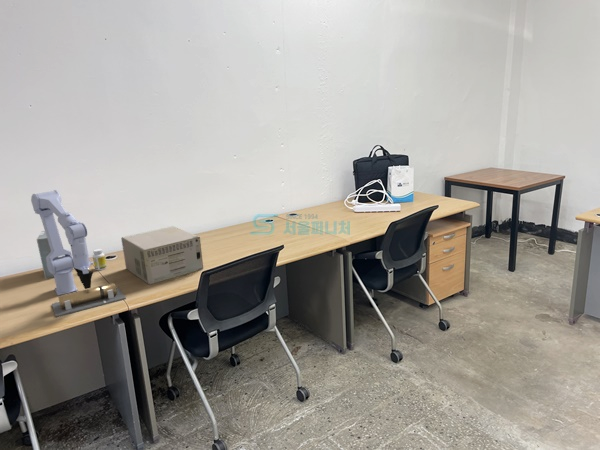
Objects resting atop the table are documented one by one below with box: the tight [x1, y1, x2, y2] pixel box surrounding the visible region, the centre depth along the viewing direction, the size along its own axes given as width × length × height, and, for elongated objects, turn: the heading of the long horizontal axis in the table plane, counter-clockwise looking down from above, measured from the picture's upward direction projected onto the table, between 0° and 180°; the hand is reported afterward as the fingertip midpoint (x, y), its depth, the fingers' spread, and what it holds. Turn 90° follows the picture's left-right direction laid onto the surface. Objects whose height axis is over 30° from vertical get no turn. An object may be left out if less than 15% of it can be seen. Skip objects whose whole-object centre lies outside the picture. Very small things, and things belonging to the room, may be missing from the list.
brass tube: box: [57, 282, 117, 309], centre depth 183 cm, size 5×21×5 cm, turn 124°
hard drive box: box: [36, 230, 65, 279], centre depth 218 cm, size 16×8×20 cm, turn 21°
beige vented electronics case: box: [121, 225, 204, 285], centre depth 216 cm, size 27×29×16 cm
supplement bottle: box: [92, 248, 108, 271], centre depth 221 cm, size 5×5×10 cm
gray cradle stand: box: [51, 286, 127, 318], centre depth 184 cm, size 14×26×4 cm, turn 124°
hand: (86, 285), depth 182 cm, fingers open, 7 cm apart
